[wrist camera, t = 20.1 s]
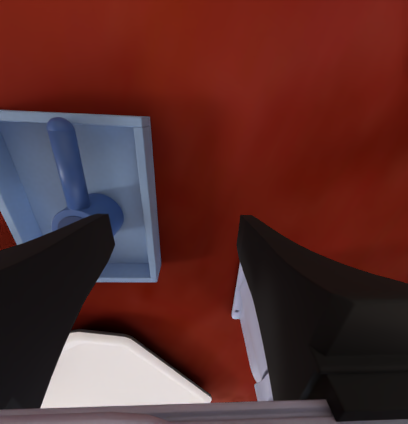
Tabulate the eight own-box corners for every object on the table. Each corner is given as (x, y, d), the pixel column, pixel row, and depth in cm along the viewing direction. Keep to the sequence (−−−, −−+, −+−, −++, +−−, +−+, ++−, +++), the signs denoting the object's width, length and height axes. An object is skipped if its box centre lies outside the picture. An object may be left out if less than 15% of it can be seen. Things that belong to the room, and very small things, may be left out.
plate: (-36, 374, 29) (-54, 393, 27) (109, 302, 23) (100, 320, 21) (103, 431, 40) (98, 447, 38) (223, 393, 34) (225, 410, 32)
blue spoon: (55, 114, 13) (12, 113, 10) (112, 119, 13) (85, 120, 10) (83, 231, 18) (58, 253, 15) (126, 234, 18) (110, 258, 15)
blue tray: (161, 264, 20) (157, 282, 18) (52, 263, 20) (34, 282, 18) (150, 116, 14) (141, 116, 12) (-10, 109, 14) (-51, 107, 11)
